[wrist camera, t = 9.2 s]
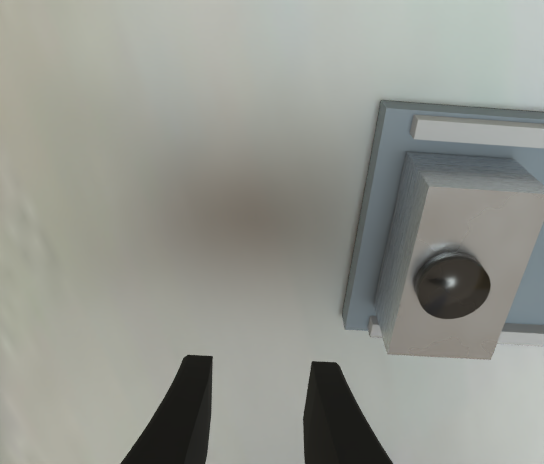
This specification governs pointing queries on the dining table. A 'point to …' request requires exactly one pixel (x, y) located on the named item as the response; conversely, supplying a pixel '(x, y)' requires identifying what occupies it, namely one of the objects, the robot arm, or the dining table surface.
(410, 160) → the free jaw
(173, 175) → the dining table surface
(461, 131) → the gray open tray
